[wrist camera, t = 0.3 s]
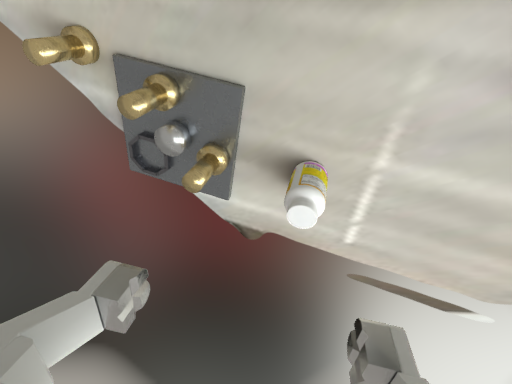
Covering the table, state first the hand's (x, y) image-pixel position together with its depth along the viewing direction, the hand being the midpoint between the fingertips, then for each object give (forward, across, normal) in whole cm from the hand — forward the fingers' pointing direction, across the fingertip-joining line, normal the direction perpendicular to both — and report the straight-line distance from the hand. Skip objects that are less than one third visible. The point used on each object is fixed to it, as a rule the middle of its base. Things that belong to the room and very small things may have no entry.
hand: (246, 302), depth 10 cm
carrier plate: (+42, +22, +8) cm, 48 cm away
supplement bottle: (+40, -4, +12) cm, 42 cm away
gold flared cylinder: (+41, +40, -5) cm, 58 cm away
